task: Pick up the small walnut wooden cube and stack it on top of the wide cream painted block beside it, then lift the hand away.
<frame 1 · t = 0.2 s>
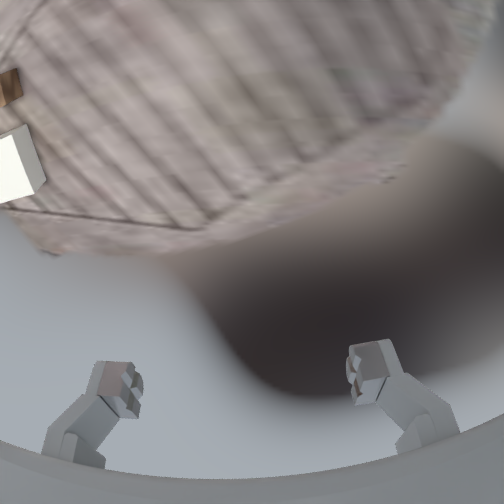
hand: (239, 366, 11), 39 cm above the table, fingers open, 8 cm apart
walnut cube: (9, 86, 34), on the table
base block: (15, 159, 43), on the table
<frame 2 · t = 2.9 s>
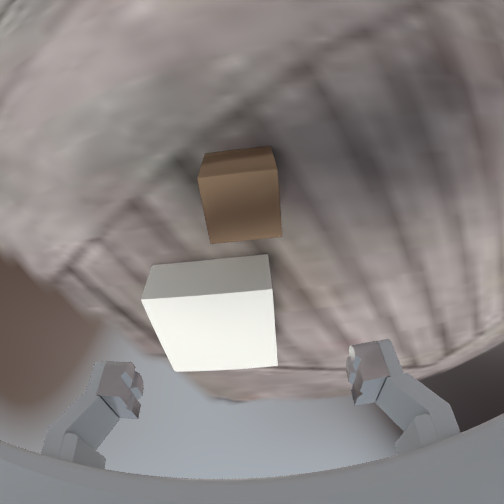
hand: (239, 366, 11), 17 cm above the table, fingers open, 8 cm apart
walnut cube: (241, 178, 25), on the table
base block: (217, 300, 33), on the table
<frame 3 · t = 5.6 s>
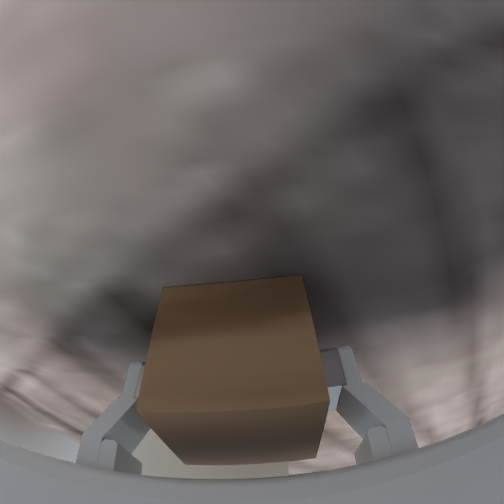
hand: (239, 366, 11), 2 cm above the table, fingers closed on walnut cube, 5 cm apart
walnut cube: (239, 328, 13), on the table, touching gripper
base block: (207, 439, 21), on the table
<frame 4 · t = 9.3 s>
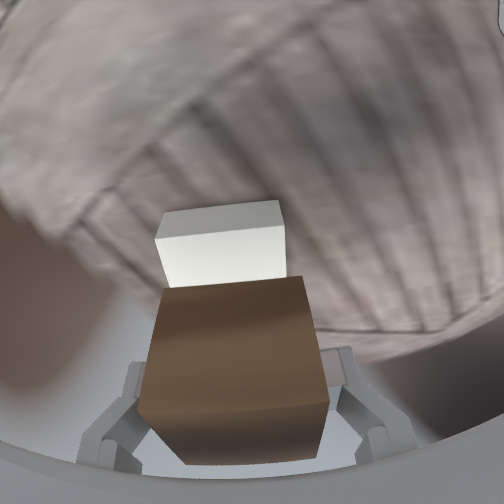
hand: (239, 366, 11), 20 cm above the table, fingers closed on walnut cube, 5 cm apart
walnut cube: (239, 329, 13), point 19 cm above the table, touching gripper
base block: (228, 250, 34), on the table
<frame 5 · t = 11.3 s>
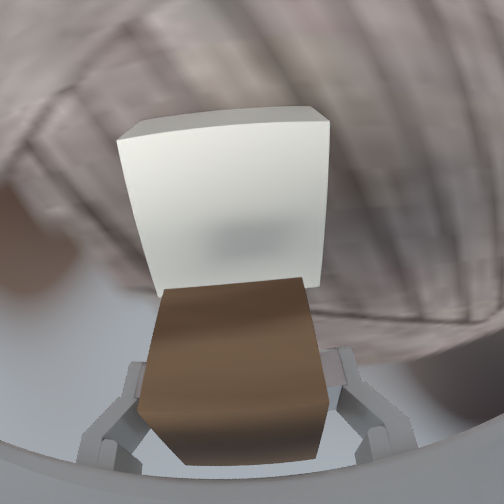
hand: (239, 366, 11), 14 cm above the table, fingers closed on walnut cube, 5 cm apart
walnut cube: (239, 329, 13), point 12 cm above the table, touching gripper
base block: (231, 185, 22), on the table
when the fingers open (8 cm above the table, at t = 13.1 s): walnut cube drops 1 cm, point 5 cm above the table.
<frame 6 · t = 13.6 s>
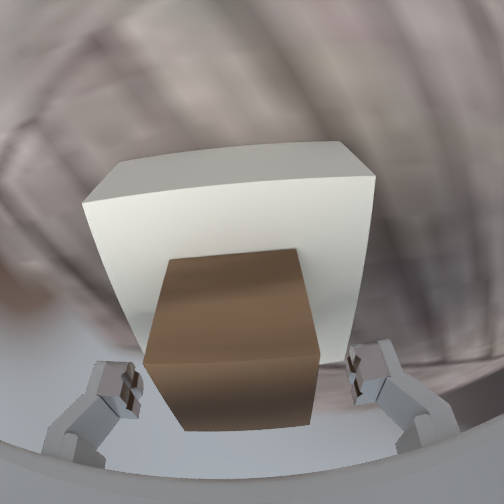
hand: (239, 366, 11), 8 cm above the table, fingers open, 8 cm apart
walnut cube: (238, 300, 14), point 5 cm above the table
base block: (237, 240, 18), on the table
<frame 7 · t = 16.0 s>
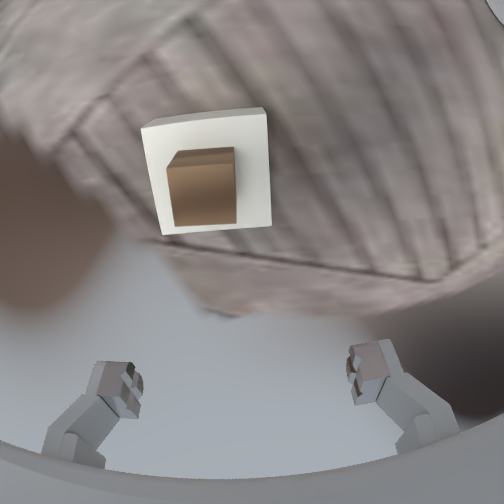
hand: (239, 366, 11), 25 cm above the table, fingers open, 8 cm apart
walnut cube: (207, 174, 28), point 5 cm above the table, touching base block
base block: (212, 161, 33), on the table, touching walnut cube
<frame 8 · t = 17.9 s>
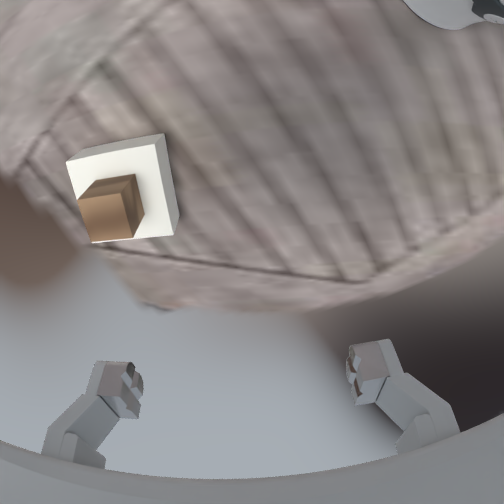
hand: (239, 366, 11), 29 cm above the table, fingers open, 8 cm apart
walnut cube: (119, 197, 33), point 5 cm above the table, touching base block
base block: (131, 180, 37), on the table, touching walnut cube
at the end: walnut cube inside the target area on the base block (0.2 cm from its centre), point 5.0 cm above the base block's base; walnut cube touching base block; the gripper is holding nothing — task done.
